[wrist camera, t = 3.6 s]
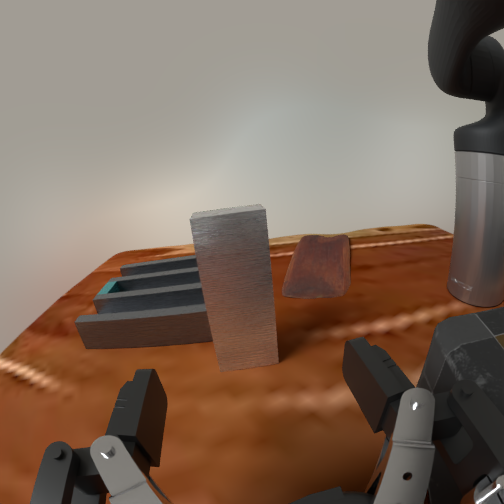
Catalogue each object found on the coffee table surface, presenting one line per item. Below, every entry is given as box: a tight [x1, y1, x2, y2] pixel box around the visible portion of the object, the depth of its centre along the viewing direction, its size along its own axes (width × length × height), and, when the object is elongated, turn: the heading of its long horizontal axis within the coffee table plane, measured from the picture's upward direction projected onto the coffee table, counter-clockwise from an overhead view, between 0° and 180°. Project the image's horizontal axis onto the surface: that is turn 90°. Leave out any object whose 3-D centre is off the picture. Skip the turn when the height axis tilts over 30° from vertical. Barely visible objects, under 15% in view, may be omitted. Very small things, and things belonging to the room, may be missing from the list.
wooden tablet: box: [282, 235, 351, 299], centre depth 44 cm, size 27×10×2 cm, turn 162°
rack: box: [75, 255, 213, 349], centre depth 33 cm, size 16×18×4 cm
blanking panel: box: [190, 204, 279, 372], centre depth 21 cm, size 5×2×13 cm, turn 97°
